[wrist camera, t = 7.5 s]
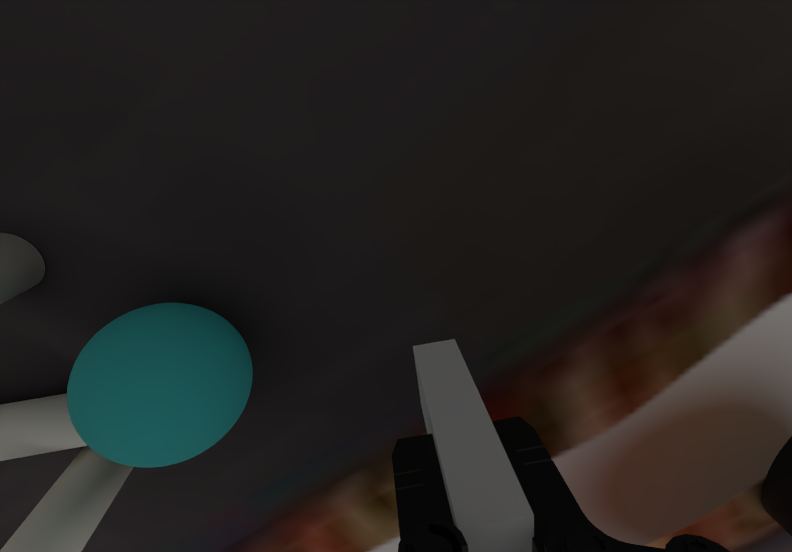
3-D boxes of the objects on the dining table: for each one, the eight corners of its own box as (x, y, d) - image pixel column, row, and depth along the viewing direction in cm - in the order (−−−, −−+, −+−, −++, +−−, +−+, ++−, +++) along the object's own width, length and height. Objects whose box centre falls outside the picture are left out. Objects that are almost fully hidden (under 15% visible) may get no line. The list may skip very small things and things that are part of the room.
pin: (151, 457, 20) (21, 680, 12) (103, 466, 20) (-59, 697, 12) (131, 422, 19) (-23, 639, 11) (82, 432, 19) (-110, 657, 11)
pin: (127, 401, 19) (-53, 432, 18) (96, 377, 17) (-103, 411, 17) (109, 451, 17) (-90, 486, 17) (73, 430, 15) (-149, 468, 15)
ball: (97, 453, 16) (230, 372, 20) (143, 543, 12) (297, 420, 16) (17, 332, 13) (187, 267, 17) (43, 397, 10) (255, 294, 13)
